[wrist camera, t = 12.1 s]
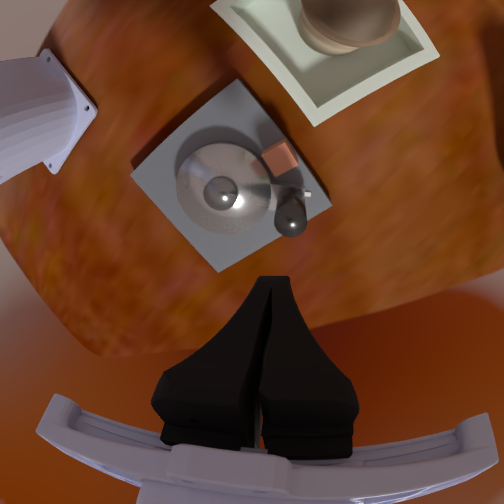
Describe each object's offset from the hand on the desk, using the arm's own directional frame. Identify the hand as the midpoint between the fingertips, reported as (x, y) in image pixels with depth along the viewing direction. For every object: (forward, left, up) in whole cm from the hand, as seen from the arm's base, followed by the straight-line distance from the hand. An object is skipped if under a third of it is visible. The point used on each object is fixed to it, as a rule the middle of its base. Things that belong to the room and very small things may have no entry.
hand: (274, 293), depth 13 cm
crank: (-3, -1, -8) cm, 9 cm away
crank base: (-4, -2, -9) cm, 10 cm away
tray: (-9, +10, -9) cm, 16 cm away
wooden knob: (-9, +10, -9) cm, 16 cm away
